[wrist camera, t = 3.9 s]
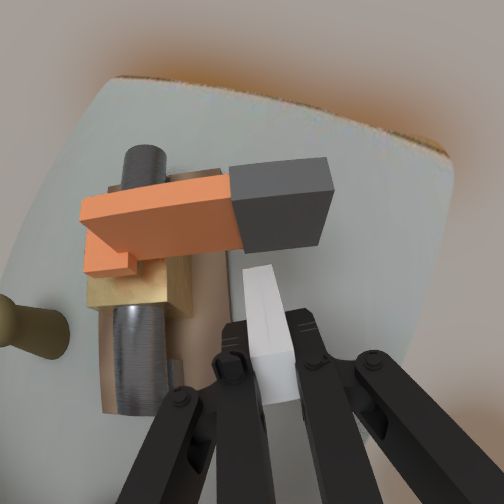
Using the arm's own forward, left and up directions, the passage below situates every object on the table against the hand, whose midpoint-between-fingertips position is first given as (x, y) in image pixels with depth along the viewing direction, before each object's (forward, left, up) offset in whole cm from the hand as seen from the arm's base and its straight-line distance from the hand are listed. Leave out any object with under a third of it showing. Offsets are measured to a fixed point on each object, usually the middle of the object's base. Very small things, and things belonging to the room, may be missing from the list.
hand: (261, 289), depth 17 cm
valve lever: (-5, +4, -5) cm, 8 cm away
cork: (-25, -4, -15) cm, 30 cm away
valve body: (-11, +3, -14) cm, 18 cm away
